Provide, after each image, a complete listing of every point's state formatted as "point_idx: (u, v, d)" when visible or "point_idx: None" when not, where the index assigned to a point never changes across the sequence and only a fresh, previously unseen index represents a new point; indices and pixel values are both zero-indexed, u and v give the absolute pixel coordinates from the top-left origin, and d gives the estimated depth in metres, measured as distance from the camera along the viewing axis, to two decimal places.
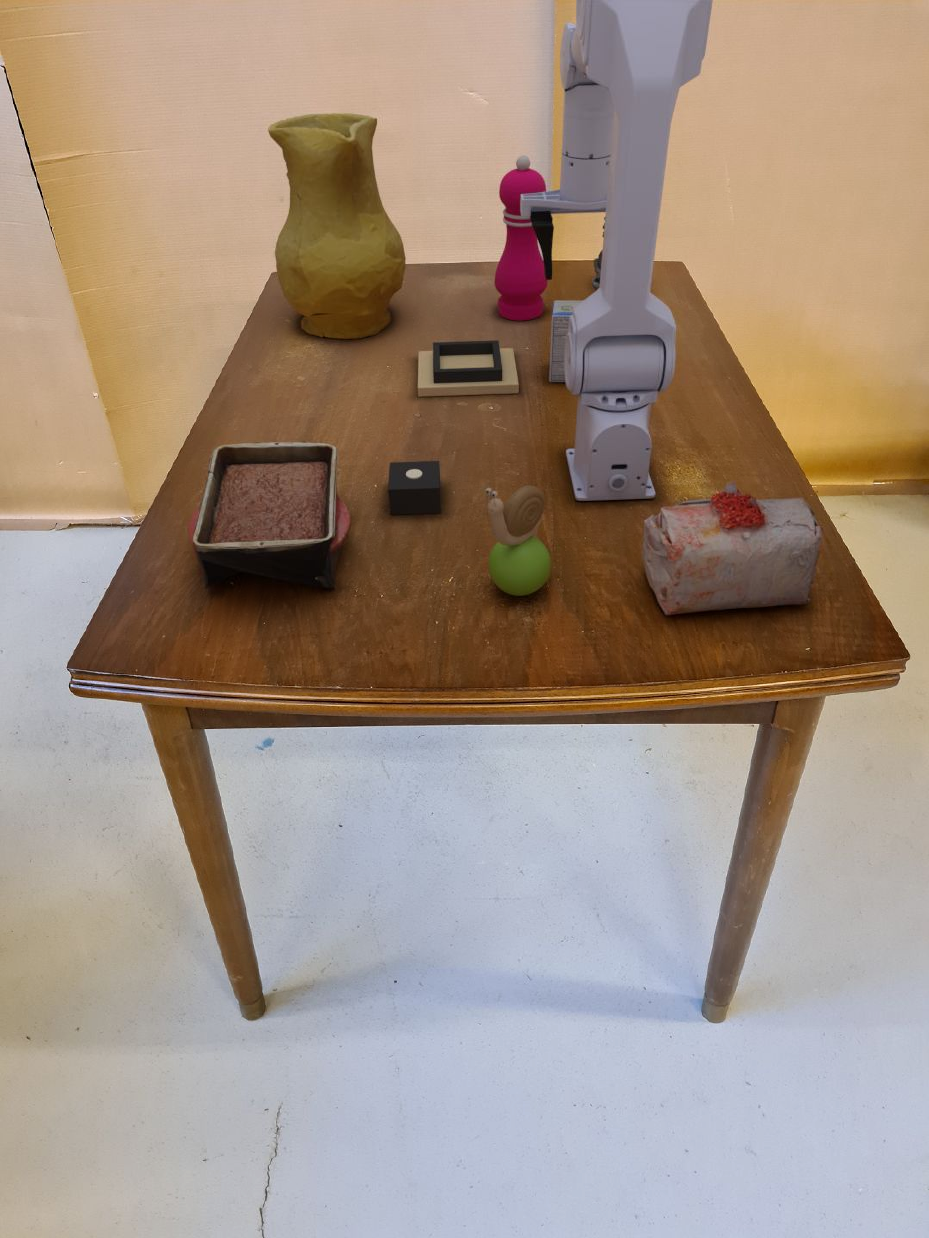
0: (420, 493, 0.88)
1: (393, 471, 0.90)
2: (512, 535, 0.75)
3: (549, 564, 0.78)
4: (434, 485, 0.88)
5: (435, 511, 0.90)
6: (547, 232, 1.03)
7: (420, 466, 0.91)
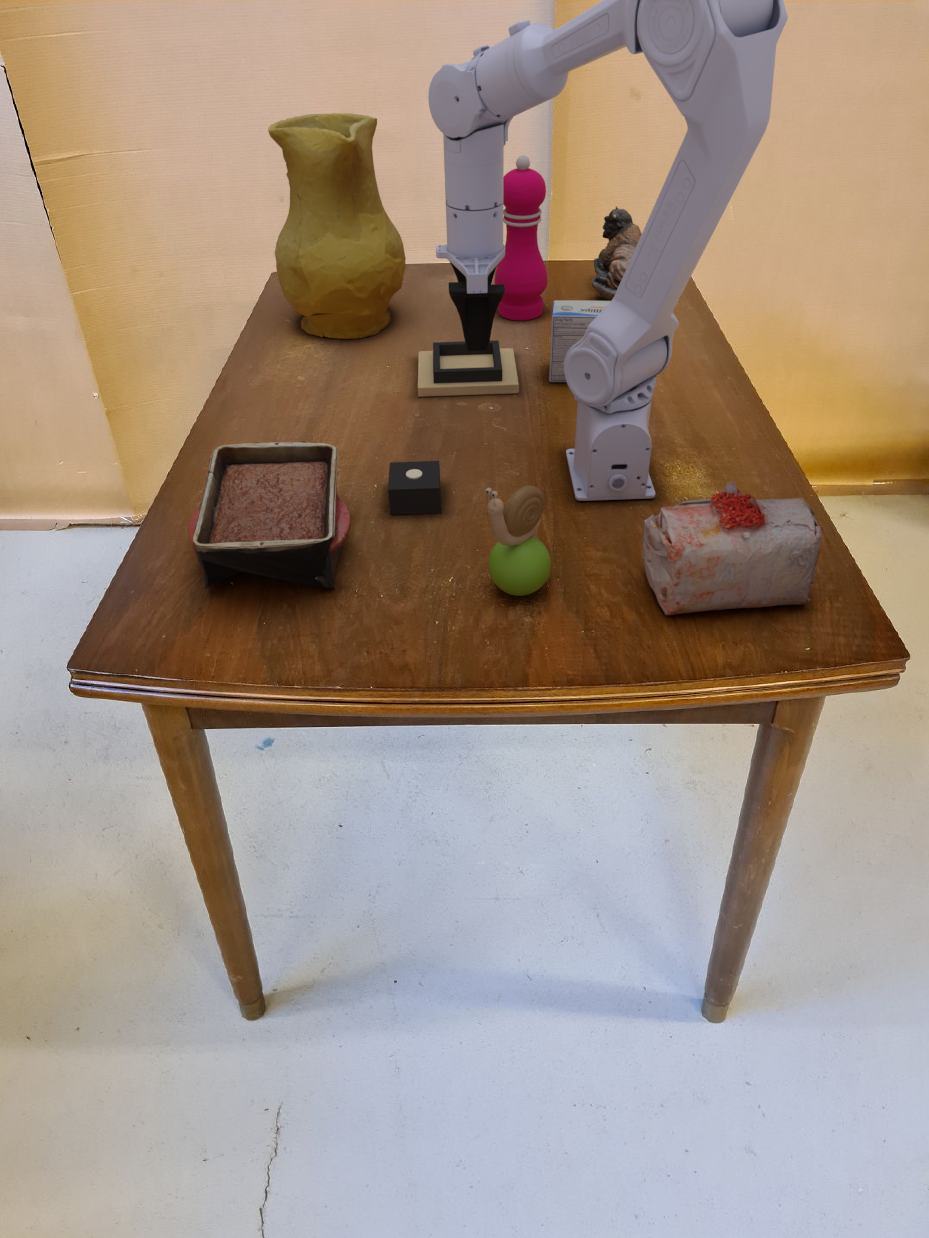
0: (420, 493, 0.88)
1: (393, 471, 0.90)
2: (512, 535, 0.75)
3: (549, 564, 0.78)
4: (434, 485, 0.88)
5: (435, 511, 0.90)
6: None
7: (420, 466, 0.91)
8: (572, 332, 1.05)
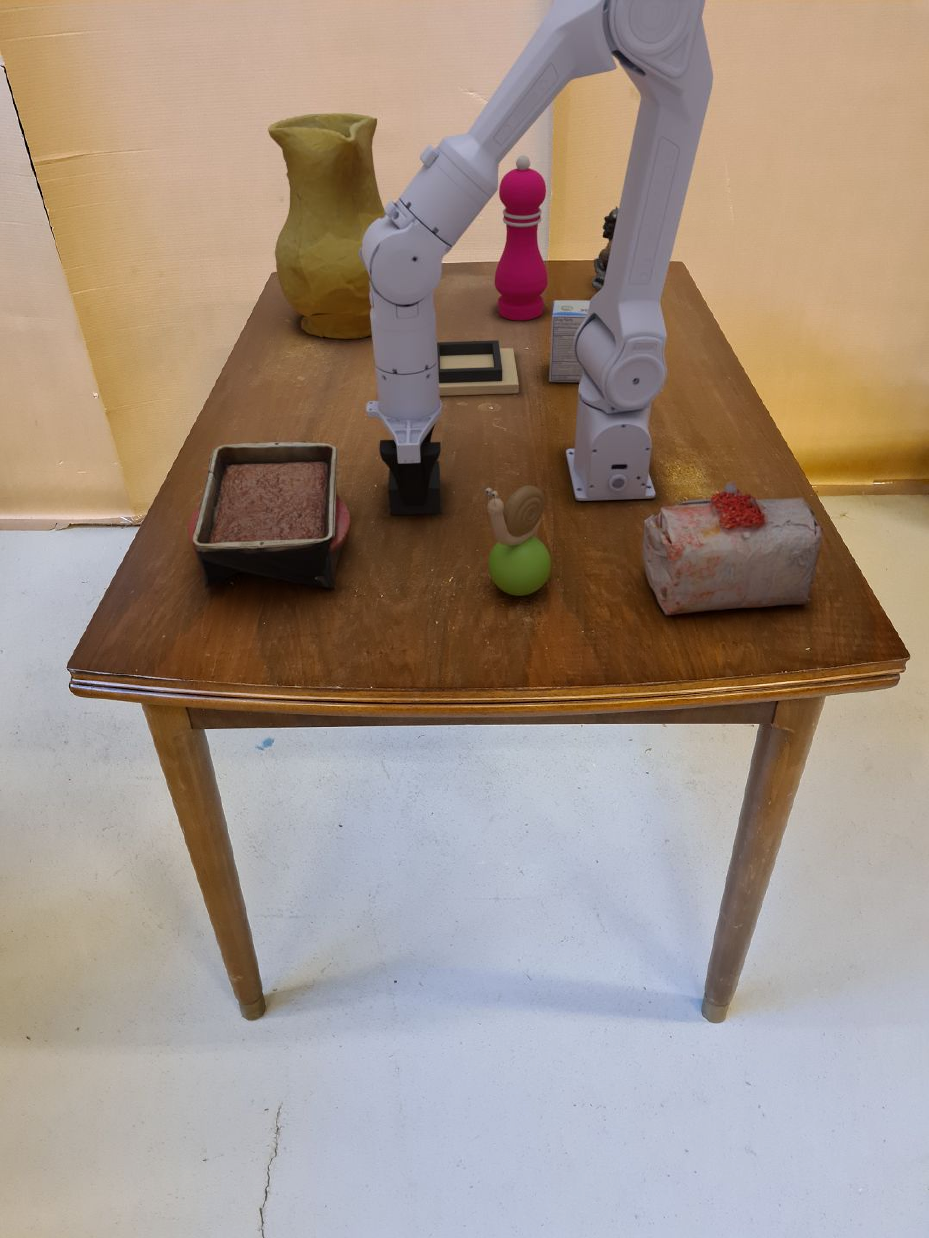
0: None
1: None
2: (512, 535, 0.75)
3: (549, 564, 0.78)
4: (434, 485, 0.88)
5: (435, 511, 0.89)
6: None
7: None
8: (572, 332, 1.05)
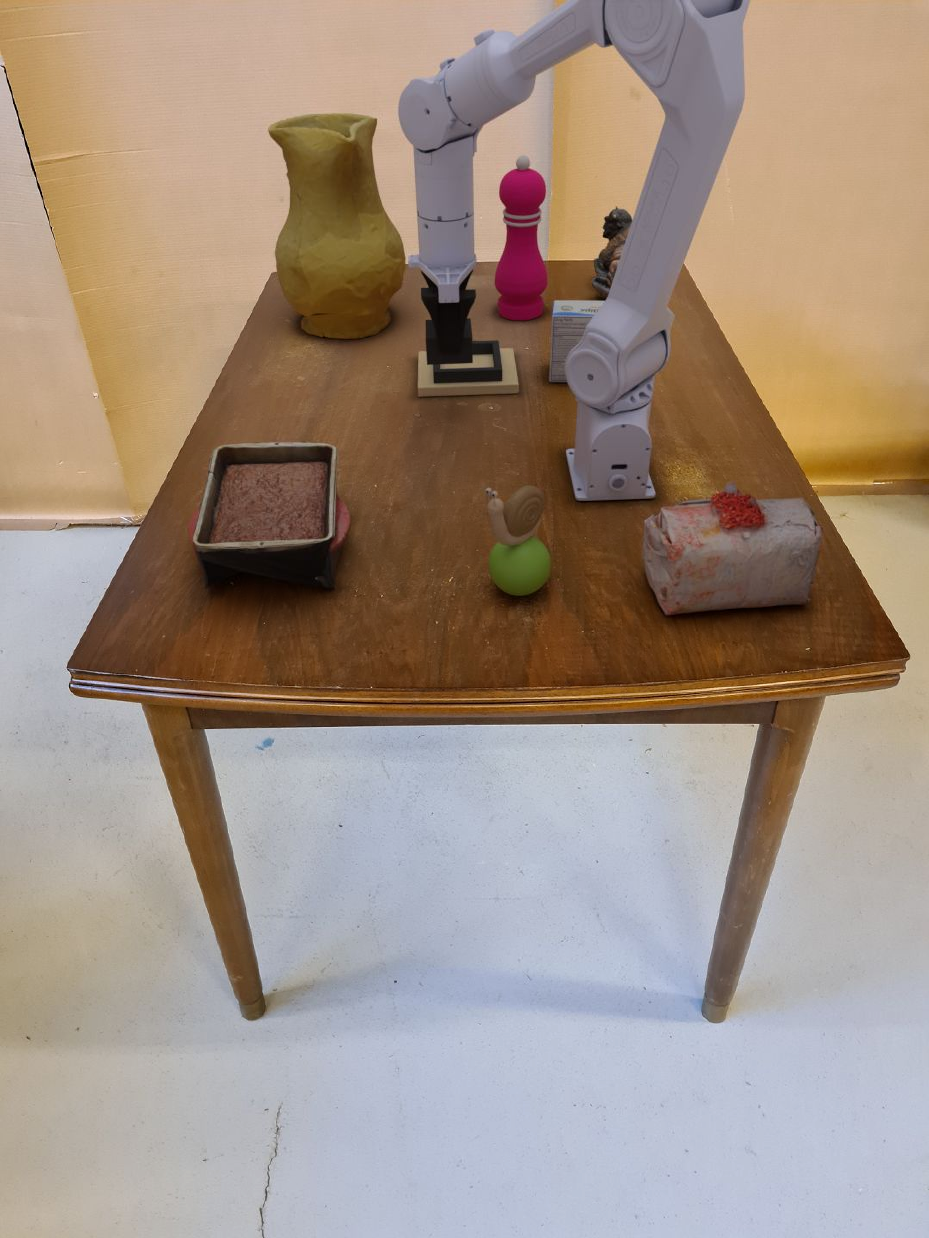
0: None
1: (429, 326, 0.99)
2: (512, 535, 0.75)
3: (549, 564, 0.78)
4: (467, 335, 0.97)
5: (468, 361, 0.99)
6: None
7: None
8: (572, 332, 1.05)
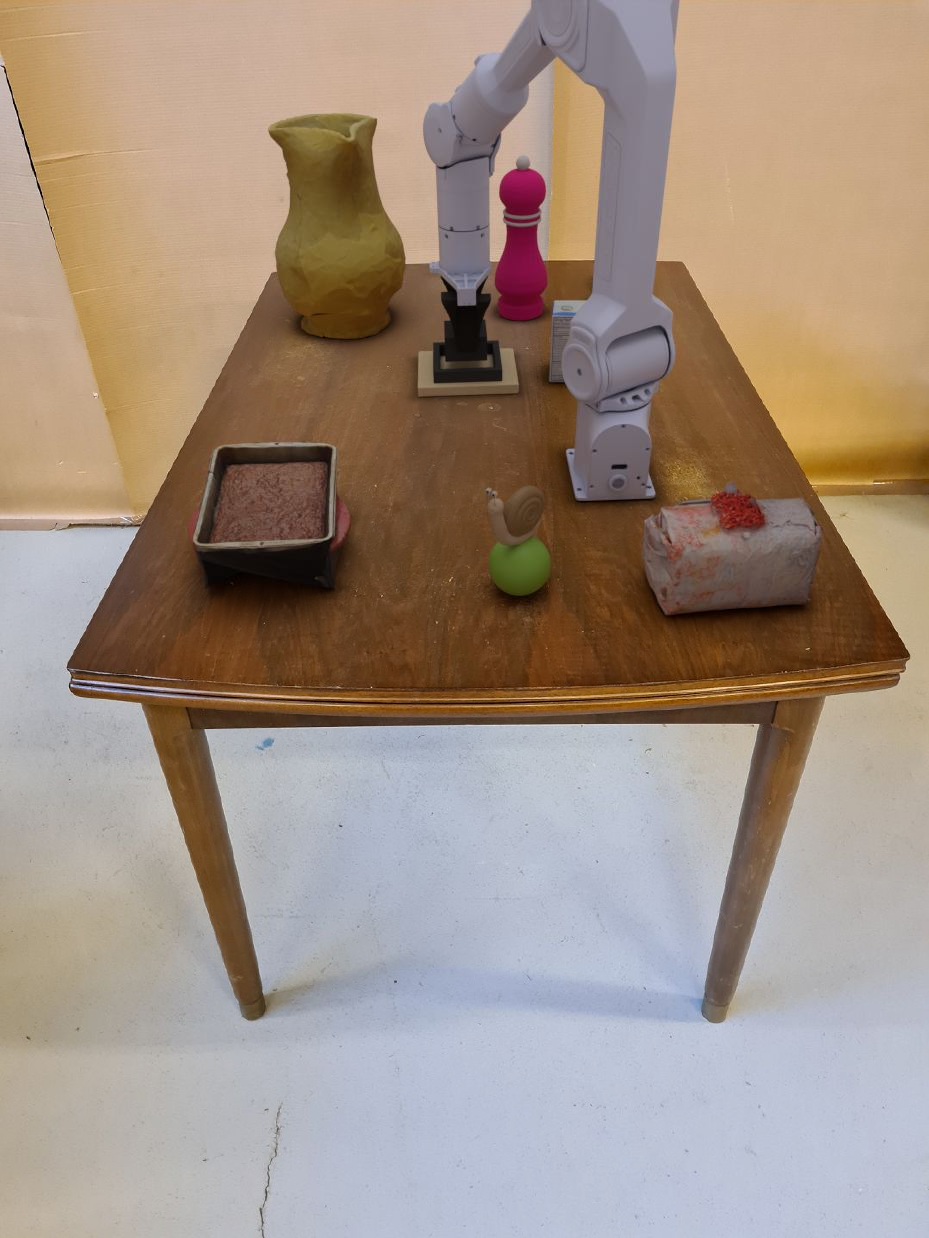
0: None
1: (447, 326, 1.08)
2: (512, 535, 0.75)
3: (549, 564, 0.78)
4: (482, 335, 1.06)
5: (482, 358, 1.08)
6: None
7: None
8: None
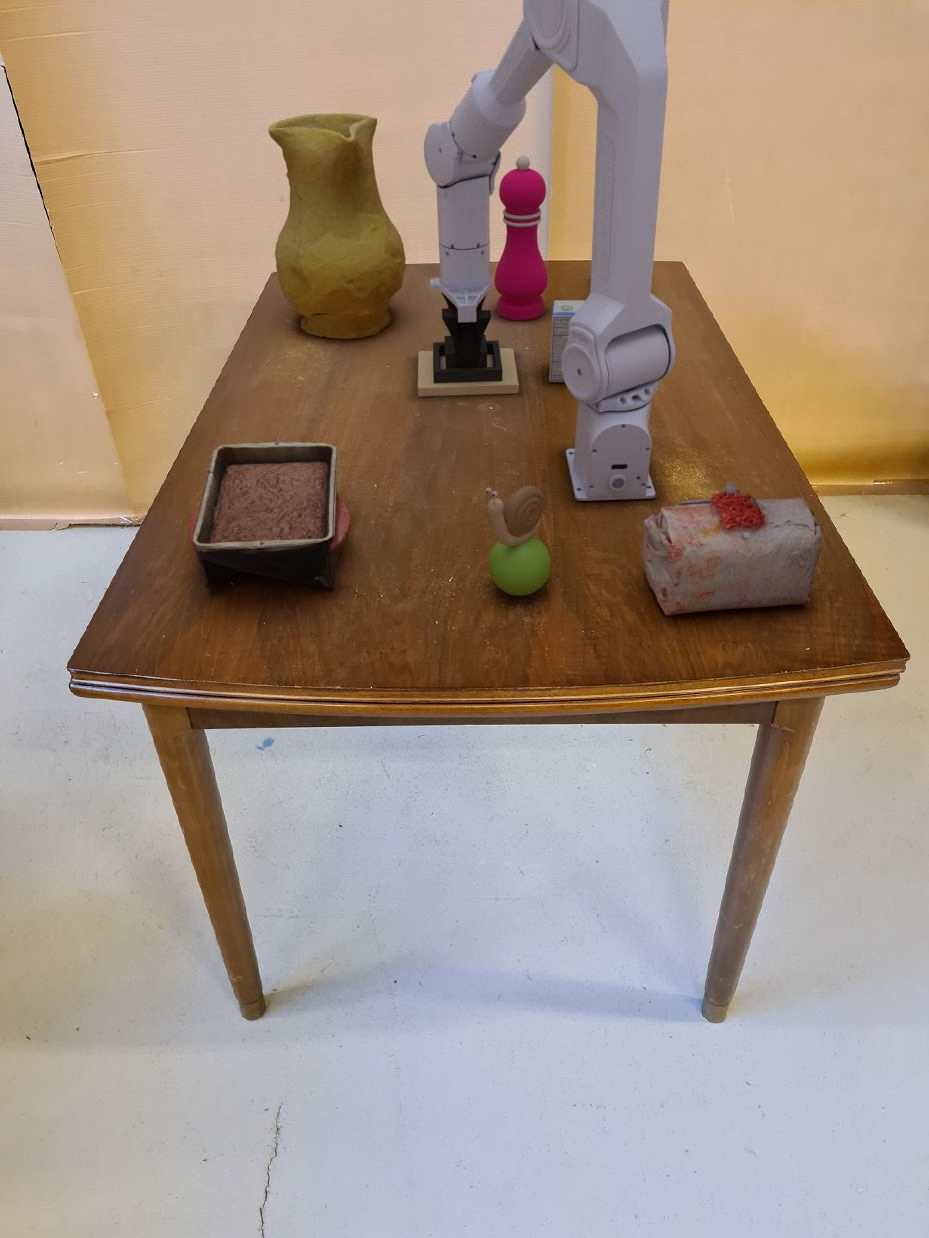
0: None
1: (448, 341, 1.10)
2: (512, 535, 0.75)
3: (549, 564, 0.78)
4: (482, 350, 1.08)
5: None
6: None
7: None
8: None
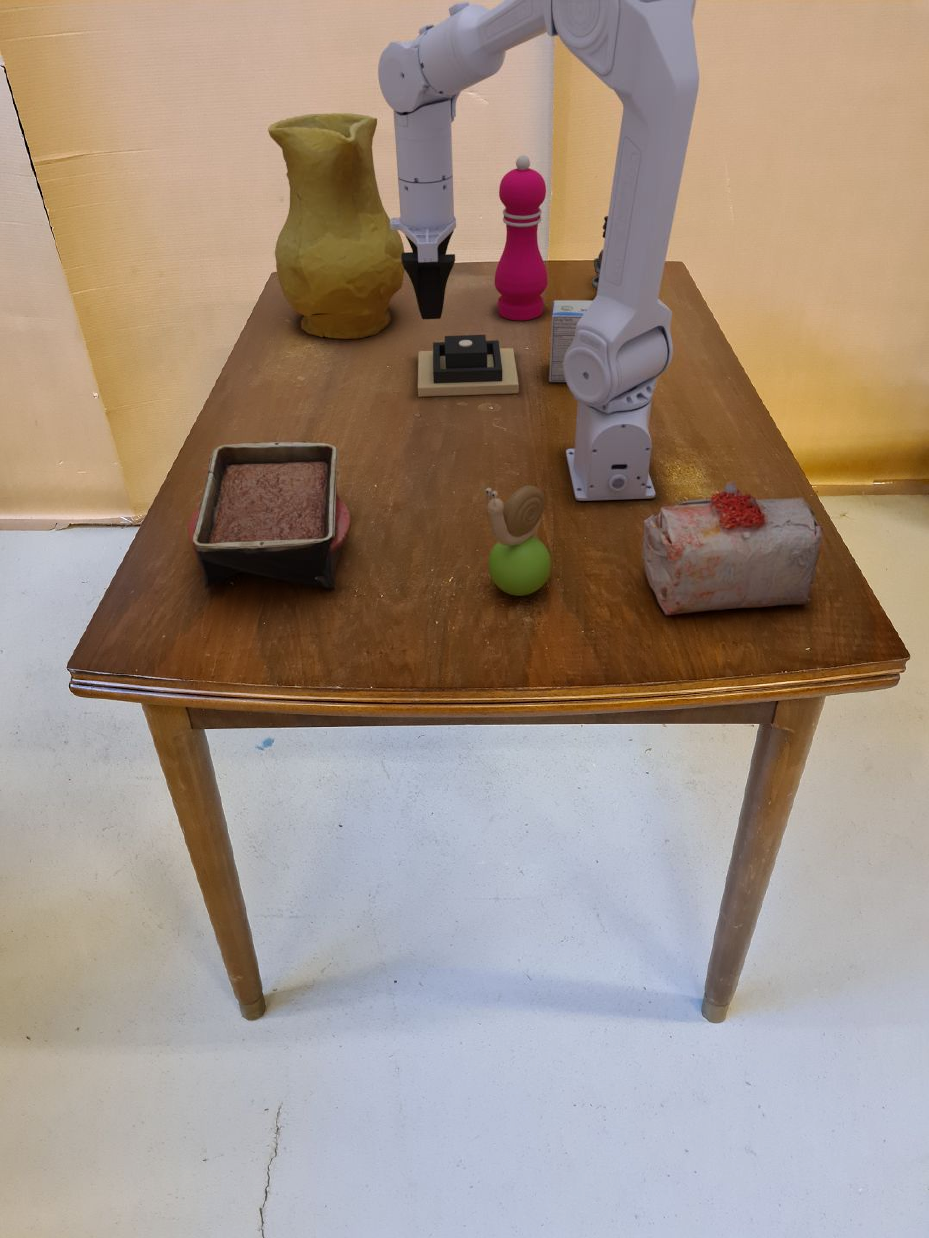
0: (471, 357, 1.08)
1: (448, 341, 1.10)
2: (512, 535, 0.75)
3: (549, 564, 0.78)
4: (482, 350, 1.08)
5: None
6: None
7: (470, 338, 1.10)
8: (572, 332, 1.05)
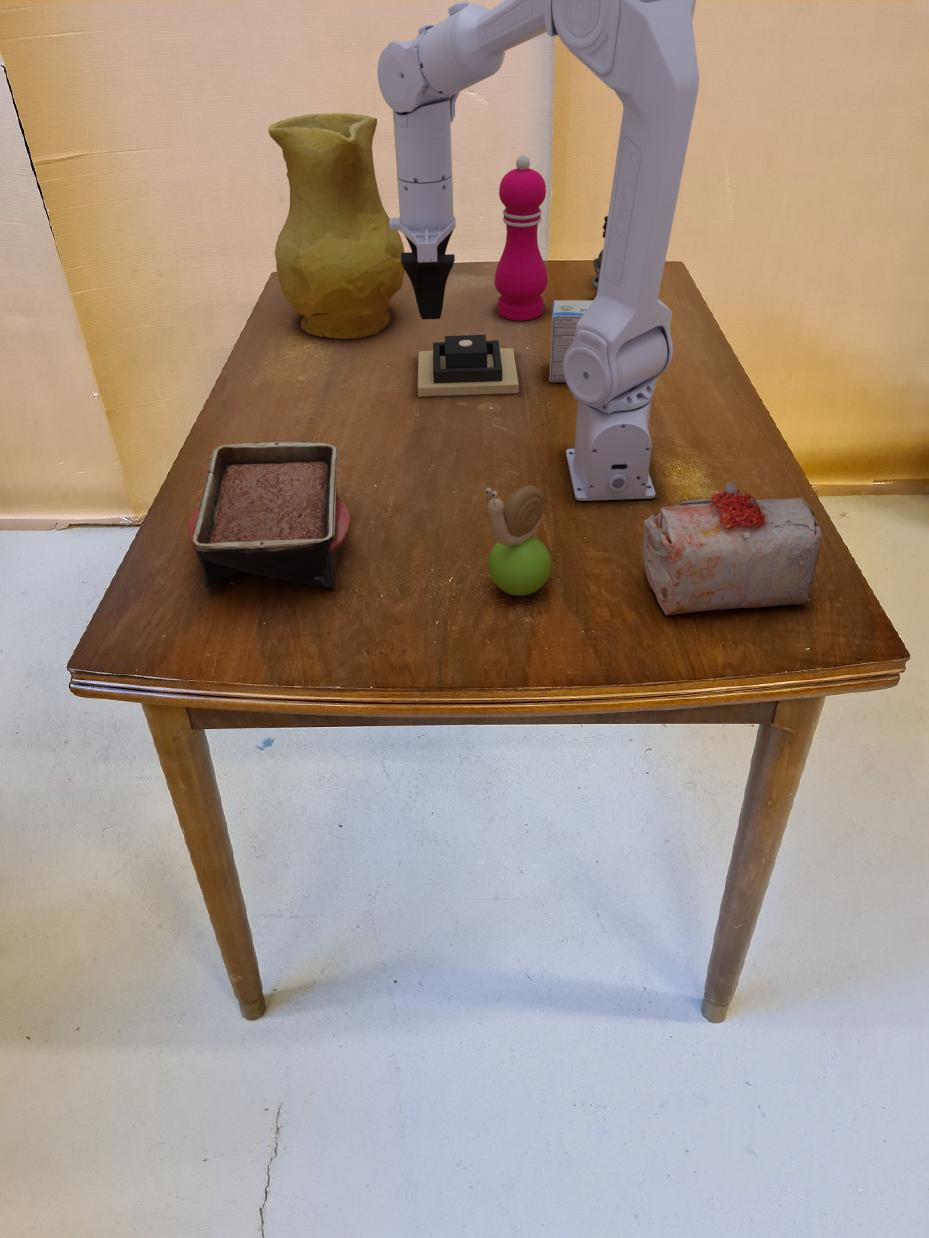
0: (471, 357, 1.08)
1: (448, 341, 1.10)
2: (512, 535, 0.75)
3: (549, 564, 0.78)
4: (482, 350, 1.08)
5: None
6: None
7: (470, 338, 1.10)
8: (572, 332, 1.05)
